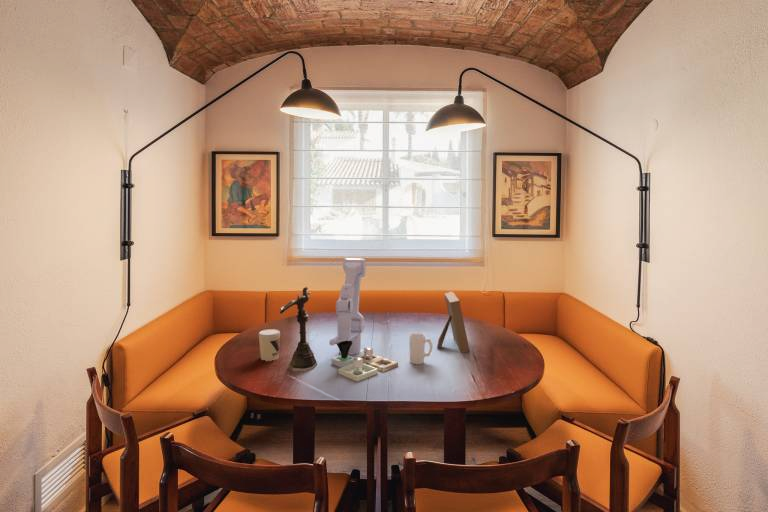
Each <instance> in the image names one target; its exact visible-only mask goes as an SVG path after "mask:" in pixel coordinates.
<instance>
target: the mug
mask: <svg viewBox="0 0 768 512" xmlns="http://www.w3.org/2000/svg"><path fill="white" fill-rule="evenodd" d="M426 343H428V344H429V350H428V351H427V352H425V347H426V345H425V344H426ZM432 350H433V343H432V340H431V338H428V337H427V338H426V335H425V334H424V333H420V332H419V333H417V332H414V333H410V334H409V363H410V364H413V365H422V364H424V362H425V357H430V355H431V353H432Z"/></svg>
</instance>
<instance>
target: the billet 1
mask: <svg viewBox="0 0 768 512" xmlns="http://www.w3.org/2000/svg"><path fill="white" fill-rule="evenodd" d="M355 357H356V356H355ZM353 374H354V375H361V374H363V358H361V357H356V358H353Z"/></svg>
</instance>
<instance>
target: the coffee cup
mask: <svg viewBox="0 0 768 512" xmlns="http://www.w3.org/2000/svg"><path fill="white" fill-rule="evenodd" d="M280 339H281V332H280V330H279V329H274V328H272V329H271V328H270V329H269V328H267V329H262V330H261V331H259V333H258V341H259V352H260V360H261V361H263V360H265V362H272V360H273V361H277V360H278V359H279V356H280V343H281V341H280Z"/></svg>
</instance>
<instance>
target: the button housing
mask: <svg viewBox="0 0 768 512" xmlns="http://www.w3.org/2000/svg"><path fill="white" fill-rule="evenodd" d="M348 356H349V360H346V361H341V360H339V357H341V354H340V355H338V356H334V357H331V365H333V366H336V367H339V368H342V367H345V366H348V365H351V364H353V358H355V357H356V356H352V355H350V354H348Z"/></svg>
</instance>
